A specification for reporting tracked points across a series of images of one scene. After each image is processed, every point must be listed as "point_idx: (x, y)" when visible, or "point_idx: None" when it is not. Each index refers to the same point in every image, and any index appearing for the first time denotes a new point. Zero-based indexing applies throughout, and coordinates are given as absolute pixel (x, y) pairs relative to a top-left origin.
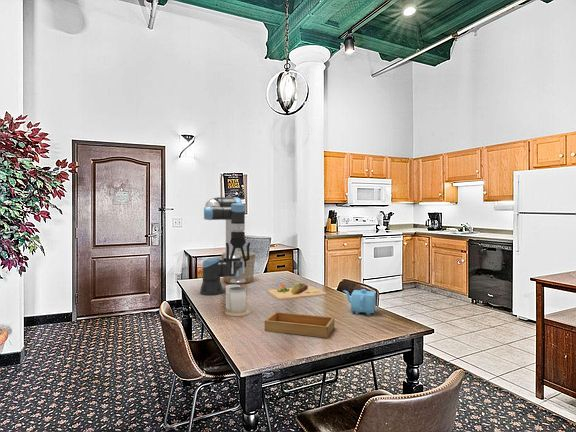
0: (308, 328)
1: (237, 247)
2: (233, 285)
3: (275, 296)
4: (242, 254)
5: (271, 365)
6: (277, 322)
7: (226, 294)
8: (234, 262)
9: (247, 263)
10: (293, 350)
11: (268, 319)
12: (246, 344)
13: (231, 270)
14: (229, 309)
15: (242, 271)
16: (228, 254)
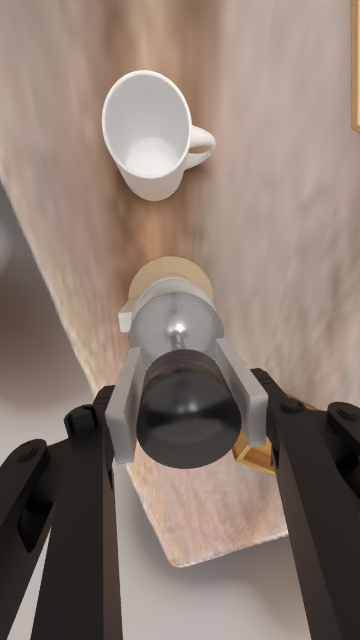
0: None
1: None
2: (150, 79)
3: (356, 81)
4: (295, 561)
5: (214, 557)
6: (262, 471)
7: (122, 331)
8: (147, 451)
9: None
10: (259, 521)
11: (246, 452)
12: (183, 499)
13: (126, 358)
14: (142, 276)
15: (218, 355)
16: (5, 623)
